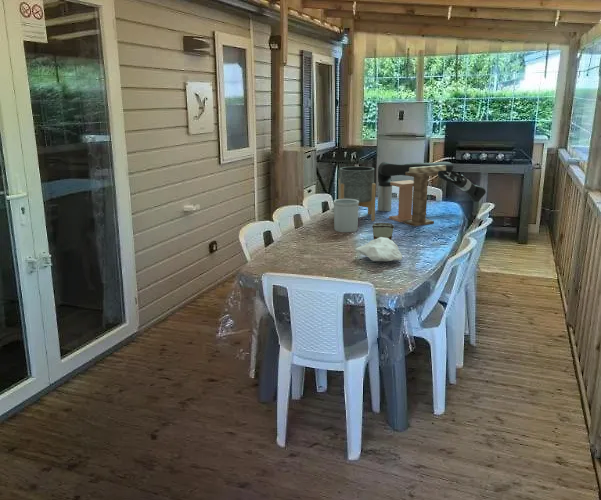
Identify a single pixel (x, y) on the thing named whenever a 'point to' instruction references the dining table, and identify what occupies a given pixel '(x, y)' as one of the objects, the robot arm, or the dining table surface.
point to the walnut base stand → (419, 199)
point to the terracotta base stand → (404, 200)
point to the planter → (358, 187)
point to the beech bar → (427, 169)
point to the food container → (382, 230)
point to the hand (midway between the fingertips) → (446, 171)
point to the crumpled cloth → (380, 250)
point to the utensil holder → (346, 215)
